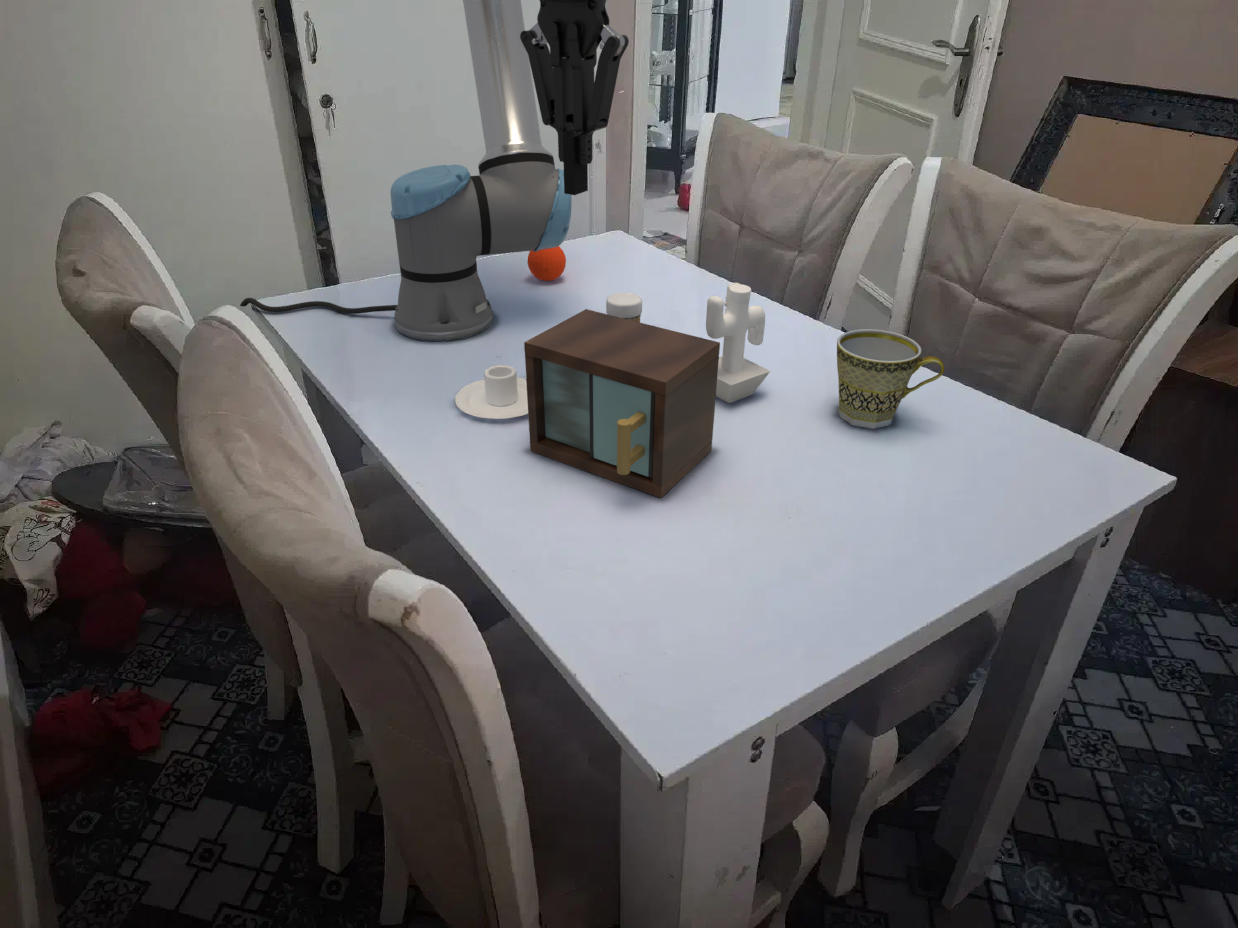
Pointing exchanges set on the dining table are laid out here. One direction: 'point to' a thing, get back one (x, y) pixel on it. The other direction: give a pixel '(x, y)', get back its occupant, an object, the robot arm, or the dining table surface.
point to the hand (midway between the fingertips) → (576, 192)
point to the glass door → (621, 425)
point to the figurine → (736, 342)
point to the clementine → (547, 263)
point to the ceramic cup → (876, 375)
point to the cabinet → (629, 357)
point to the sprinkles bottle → (624, 306)
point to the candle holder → (495, 395)
